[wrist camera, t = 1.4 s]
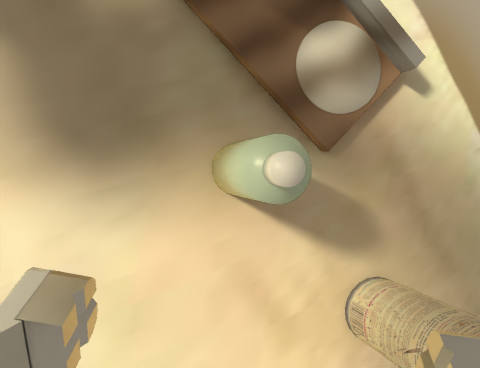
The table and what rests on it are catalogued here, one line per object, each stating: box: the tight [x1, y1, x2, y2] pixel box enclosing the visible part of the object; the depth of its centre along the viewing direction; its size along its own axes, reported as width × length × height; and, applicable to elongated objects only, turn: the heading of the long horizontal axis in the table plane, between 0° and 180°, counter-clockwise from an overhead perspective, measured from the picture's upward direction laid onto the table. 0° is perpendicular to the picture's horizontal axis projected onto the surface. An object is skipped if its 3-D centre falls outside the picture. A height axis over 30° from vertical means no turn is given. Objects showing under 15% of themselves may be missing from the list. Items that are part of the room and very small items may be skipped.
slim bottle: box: [212, 134, 312, 204], centre depth 36 cm, size 5×5×14 cm
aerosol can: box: [345, 277, 480, 368], centre depth 38 cm, size 7×7×20 cm
